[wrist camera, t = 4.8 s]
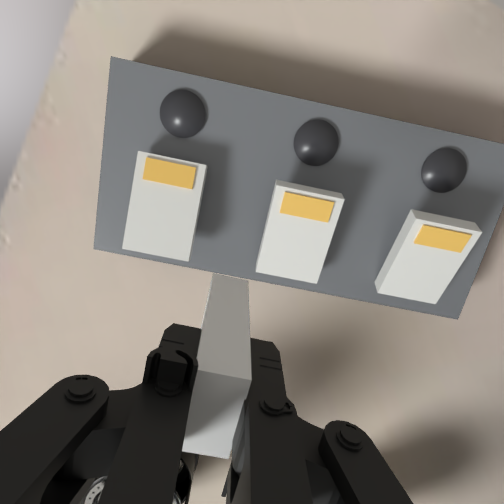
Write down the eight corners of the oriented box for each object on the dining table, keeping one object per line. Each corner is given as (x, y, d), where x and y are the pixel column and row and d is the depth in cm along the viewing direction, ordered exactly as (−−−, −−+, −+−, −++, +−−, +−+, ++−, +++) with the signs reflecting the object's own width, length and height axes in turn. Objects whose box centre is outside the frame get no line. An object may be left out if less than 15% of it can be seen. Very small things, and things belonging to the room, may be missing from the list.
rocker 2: (474, 222, 26) (483, 233, 25) (430, 293, 30) (436, 305, 28) (410, 209, 26) (416, 219, 24) (374, 282, 29) (377, 294, 28)
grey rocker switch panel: (495, 146, 30) (528, 149, 26) (437, 300, 34) (459, 320, 30) (127, 65, 28) (109, 55, 25) (110, 236, 32) (92, 249, 28)
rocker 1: (207, 166, 26) (206, 164, 25) (190, 258, 27) (188, 262, 26) (142, 153, 26) (137, 150, 25) (127, 246, 27) (121, 249, 26)
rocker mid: (341, 193, 26) (345, 200, 25) (315, 275, 29) (317, 284, 27) (276, 179, 25) (276, 185, 24) (256, 263, 28) (255, 273, 27)
